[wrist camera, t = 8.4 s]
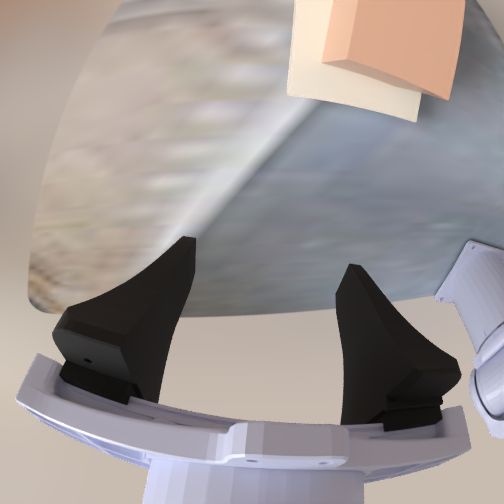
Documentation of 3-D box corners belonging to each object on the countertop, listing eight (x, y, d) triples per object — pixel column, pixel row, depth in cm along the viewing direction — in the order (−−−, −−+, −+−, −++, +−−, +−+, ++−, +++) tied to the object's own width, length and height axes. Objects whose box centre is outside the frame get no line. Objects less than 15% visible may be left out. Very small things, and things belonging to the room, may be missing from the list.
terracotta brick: (413, -20, 8) (465, -42, 3) (394, 86, 13) (448, 101, 8) (341, -47, 8) (369, -90, 3) (321, 62, 13) (346, 59, 8)
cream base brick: (409, -25, 9) (429, -37, 7) (395, 112, 17) (415, 122, 14) (298, -54, 10) (301, -73, 7) (286, 91, 17) (288, 95, 14)
